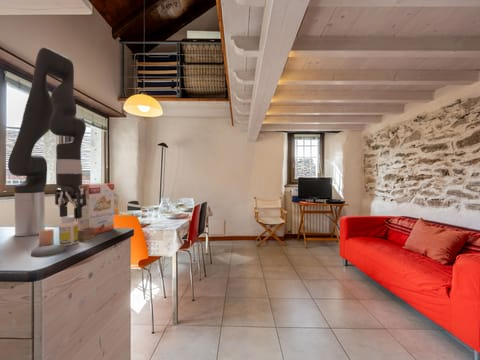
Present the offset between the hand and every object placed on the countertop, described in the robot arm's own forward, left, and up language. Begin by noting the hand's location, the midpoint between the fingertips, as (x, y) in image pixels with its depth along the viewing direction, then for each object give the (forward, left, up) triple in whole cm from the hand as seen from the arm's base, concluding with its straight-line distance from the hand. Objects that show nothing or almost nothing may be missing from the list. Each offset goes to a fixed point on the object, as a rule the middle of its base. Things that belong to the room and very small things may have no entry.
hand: (70, 217), depth 84 cm
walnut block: (0, +5, -10) cm, 11 cm away
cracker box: (-7, +14, -10) cm, 19 cm away
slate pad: (+4, -9, -9) cm, 13 cm away
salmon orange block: (-6, -5, -9) cm, 12 cm away
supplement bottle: (0, -1, -10) cm, 10 cm away
